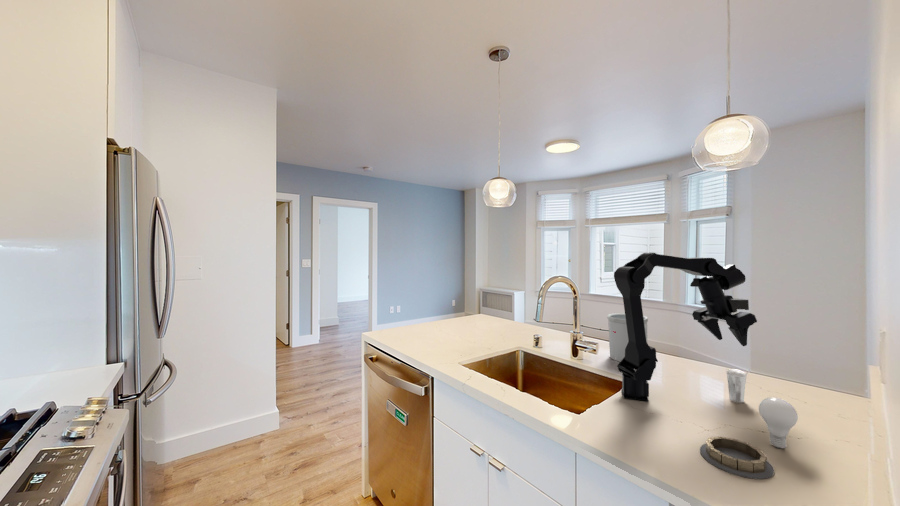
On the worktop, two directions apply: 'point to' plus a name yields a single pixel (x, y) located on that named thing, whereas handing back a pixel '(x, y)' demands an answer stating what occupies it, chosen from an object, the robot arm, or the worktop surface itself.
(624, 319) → the utensil holder
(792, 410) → the lightbulb
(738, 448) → the socket collar
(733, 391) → the milkshake
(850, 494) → the worktop surface
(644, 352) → the robot arm
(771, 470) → the socket mat
